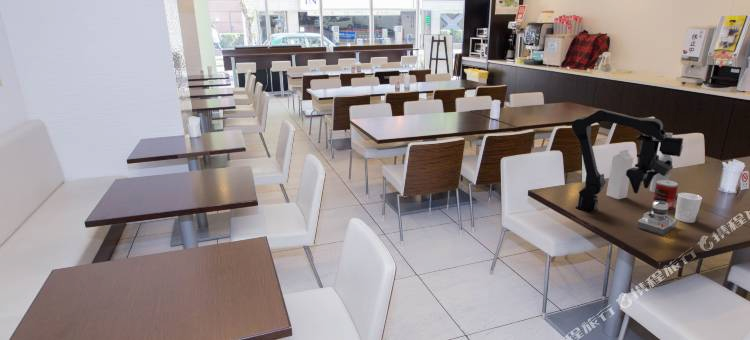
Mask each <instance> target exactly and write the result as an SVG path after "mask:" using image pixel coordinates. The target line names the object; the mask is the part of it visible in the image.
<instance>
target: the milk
mask: <svg viewBox="0 0 750 340" xmlns="http://www.w3.org/2000/svg"><path fill="white" fill-rule="evenodd" d="M629 151H630V150H629V149H628V148H627V149H623V150H622V149H621V150H619V152H618V154H615V155H612V159H611V164H610V165H611V166H610V171H609V175H608V182H607V183H608V184H607V188H606V196H607V197H610V198H613V199H615V200H622V199H625V198H627V197H628V191H629V186H630V180H629V178H628V177H627V176H626V171H627V170H628V169H630V168H633V165H634V164H633V163H634V156H633V155H631V153H630V152H629Z"/></svg>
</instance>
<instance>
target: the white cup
mask: <svg viewBox="0 0 750 340" xmlns="http://www.w3.org/2000/svg"><path fill="white" fill-rule="evenodd" d="M676 197H677V198H676V203H675V204H676V206H675V214H674V219H676V220H677V221H679V222H682V223H690V224H691V223H695V222H696V219H697V217H698V214H699V210H700V207H701V203H702V200H703V197H702V196H700V195H698V194H696V193H695V194H694V193H691V192H690V193H689V192H679V193H677V196H676Z"/></svg>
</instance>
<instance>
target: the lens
mask: <svg viewBox="0 0 750 340" xmlns="http://www.w3.org/2000/svg"><path fill="white" fill-rule="evenodd" d="M668 205H669V204H668V203H667V202H664V201H658V200H657V201H653V200H652V206H651V210H650V212H651V218H655V219H658V220H666V216H667V215H668V212H669V210H668Z"/></svg>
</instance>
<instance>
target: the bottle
mask: <svg viewBox="0 0 750 340" xmlns="http://www.w3.org/2000/svg"><path fill="white" fill-rule="evenodd" d="M665 133H666V134H667V137H673V135H674V133H673V132H665ZM658 156H659V160H661V161H664V162H665V161H667V160H670V161H672V162H673V158H672V157H671V155H664V154H662V153H661V152H660V154H658ZM670 174H671V171H670V172H669V174H668V175H665V176H662V175H660V173H658V174H656V175H655V176H654V177H653V179H652V181H651V183H650V185H649V186H650V187H649V192H651V193H653V194H654V193H655V188H656V183H657V181H658V180H670Z"/></svg>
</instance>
